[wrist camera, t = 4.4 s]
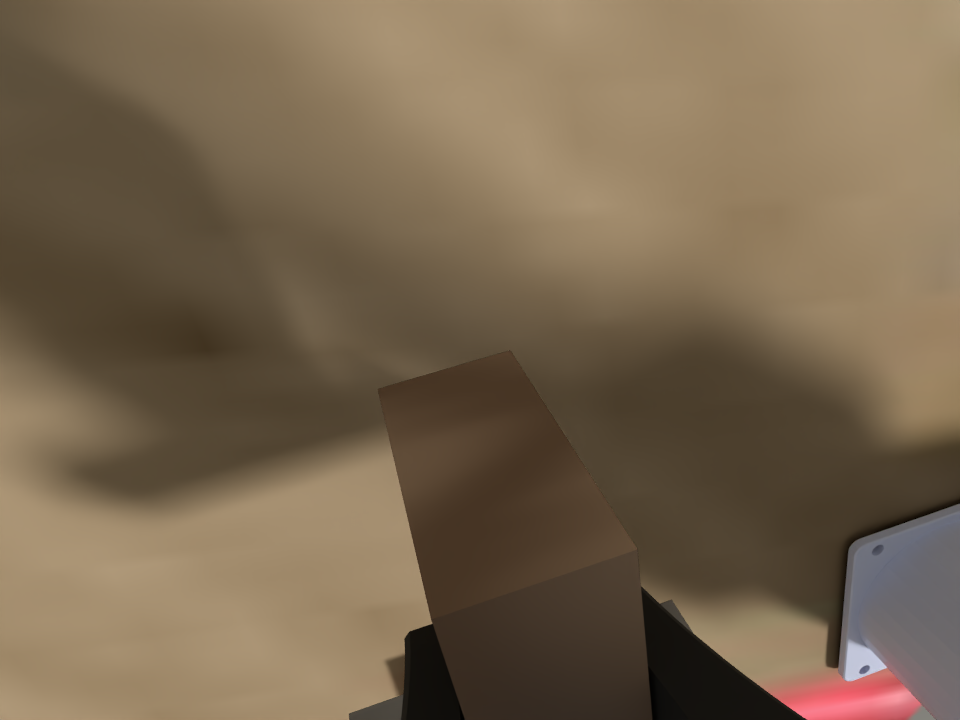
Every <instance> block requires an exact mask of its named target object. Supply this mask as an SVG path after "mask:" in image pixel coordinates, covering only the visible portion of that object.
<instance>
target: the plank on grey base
mask: <svg viewBox="0 0 960 720" xmlns="http://www.w3.org/2000/svg"><path fill="white" fill-rule="evenodd" d="M378 392H379V396H380V401H381V405H382V409H383V414H384V418H385V422H386V427H387V431H388V435H389V440H390V444H391V448H392V452H393V457H394V461H395V465H396V470H397V474H398V478H399V483H400V487H401V491H402V496H403V500H404V504H405V508H406V513H407V517H408V521H409V526H410V530H411V534H412V539H413V543H414V547H415V552H416V556H417V560H418V564H419V569H420V573H421V577H422V582H423V586H424V590H425V595H426V599H427V603H428V607H429V612H430V616H431V620H432V623H433V626H434V629H435V632H436V635H437V638H438V641H439V644H440V647H441V650H442V653H443V656H444V659H445V662H446V665H447V668H448V671H449V674H450V677H451V680H452V683H453V686H454V689H455V692H456V695H457V698H458V700H459V703H460V706H461V709H462V712H463V715H464V718H465V720H652V709H651V697H650V686H649V674H648V663H647V651H646V640H645V628H644V617H643V605H642V594H641V582H640V571H639V559H638V549H637V548H636V546H635V544H634V543H633V541H632V540H631V538H630V537H629V535H628V533H627V532H626V530H625V529H624V527H623V526H622V524H621V523H620V521H619V519H618V518H617V516H616V515H615V513H614V512H613V510H612V508H611V507H610V505H609V504H608V502H607V501H606V499H605V498H604V496H603V494H602V493H601V491H600V490H599V488H598V487H597V485H596V484H595V482H594V480H593V479H592V477H591V476H590V474H589V473H588V471H587V469H586V468H585V466H584V465H583V463H582V462H581V460H580V459H579V457H578V455H577V454H576V452H575V451H574V449H573V448H572V446H571V444H570V443H569V441H568V440H567V438H566V437H565V435H564V434H563V432H562V430H561V429H560V427H559V426H558V424H557V423H556V421H555V419H554V418H553V416H552V415H551V413H550V412H549V410H548V409H547V407H546V405H545V404H544V402H543V401H542V399H541V398H540V396H539V395H538V393H537V391H536V390H535V388H534V387H533V385H532V384H531V382H530V380H529V379H528V377H527V376H526V374H525V373H524V371H523V370H522V368H521V366H520V365H519V363H518V362H517V360H516V359H515V357H514V355H513V354H512V352H511V351H510V350H509V351H506V352H502V353H499V354H496V355H492V356H489V357H485V358H482V359H478V360H475V361H472V362H468V363H465V364H461V365H458V366H455V367H451V368H448V369H444V370H441V371H437V372H434V373H431V374H427V375H424V376H420V377H417V378H413V379H410V380H407V381H403V382H400V383H396V384H393V385H390V386H386V387H383V388H379V389H378ZM660 605H662V606H663V607H664V608H665V609H666V610H667V611H668V612H669V613H670V614H671V615H673V616H674V617H675V618H676V619H677V620H678V621H679V622H680V623H682V624H683V625H684V626H685V627H686V628H687V629H688V630H690V631H691V632H692V630H691V629H690V627H689V626H688V624H687V623H686V621H685V620H684V618H683V616H682V615H681V613H680V612H679V610H678V609H677V607H676V606H675V604H674V602H673V601H672V600H669V601H666V602H664V603H661V604H660ZM692 633H693V632H692ZM402 704H403V695H400V696H398V697H395V698H392V699H389V700H386V701H384V702H381V703H378V704H375V705H372V706H369V707H367V708H364V709H361V710H358V711H355V712H352V713H350V714H349V720H401V715H402Z"/></svg>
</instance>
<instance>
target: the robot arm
mask: <svg viewBox="0 0 960 720" xmlns="http://www.w3.org/2000/svg"><path fill="white" fill-rule="evenodd" d="M641 594H642V605H643V617H644V628H645V640H646V651H647V663H648V674H649V686H650V697H651V709H652V720H806V719H805V718H803V717H802V716H800V715H799V714H797V713H796V712H795V711H793V710H792V709H790V708H789V707H787V706H786V705H785V704H783V703H782V702H780V701H779V700H778V699H776V698H775V697H773V696H772V695H771V694H769V693H768V692H767V691H765V690H764V689H763V688H761V687H760V686H759V685H757V684H756V683H755V682H753V681H752V680H751V679H749V678H748V677H747V676H745V675H744V674H743V673H741V672H740V671H739V670H737V669H736V668H735V667H734V666H732V665H731V664H730V663H729V662H727V661H726V660H725V659H723V658H722V657H721V656H720V655H719V654H717V653H716V652H715V651H714V650H713V649H711V648H710V647H709V646H708V645H707V644H705V643H704V642H703V641H702V640H700V639H699V638H698V637H697V636H696V635H694V634H693V633H692V632H691V631H690V630H688V629H687V628H686V627H685V626H684V625H683V624H682V623H680V622H679V621H678V620H677V619H676V618H675V617H674V616H673V615H671V614H670V613H669V612H668V611H667V610H666V609H665V608H664V607H663V606H662V605H660V604H659V603H658V602H657V601H656V600H655V599H654V598H653V597H652V596H651V595H650V594H649V593H648V592H647V591H646V590H644V589H643V588H642V587H641ZM885 668H888V669H889V670H890V671H891V672H892V673H893V674H894V675H895V676H896V677H897V679H898V680H899V681H900V682H901V683H902V684H903V685H904V686H905V687H906V688H907V689H908V690H909V691H910V692H911V693H912V695H913V696H914V697H915V698H916V699H917V700H918V701H919V702H920V703H921V704H922V705H923V706H924V707H925V708H926V709H927V710H928V712H929V713H930V714H931V715H932V716H933V717H934V718H935V719H936V720H960V504H957V505H954V506H951V507H948V508H946V509H943V510H940V511H937V512H934V513H931V514H928V515H926V516H923V517H920V518H917V519H914V520H911V521H909V522H906V523H903V524H900V525H897V526H894V527H891V528H889V529H886V530H883V531H880V532H877V533H874V534H871V535H869V536H866V537H863V538H860V539H858V540H856V541H855V542H854V543H852V545H851V546H850V547H849V551H848V561H847V573H846V585H845V596H844V608H843V620H842V632H841V644H840V656H839V668H838V672H839V674H840V675H841V677H842V678H843V679H844V680H845V681H853V680H856V679H859V678H861V677H864V676H866V675H869V674H872V673H874V672H877V671H880V670H882V669H885ZM401 720H465V718H464V715H463V712H462V709H461V706H460V703H459V700H458V698H457V695H456V692H455V689H454V686H453V683H452V680H451V677H450V674H449V671H448V668H447V665H446V662H445V659H444V656H443V653H442V650H441V647H440V644H439V641H438V638H437V635H436V632H435V629H434V626H433V624H431V625H428V626H425V627H422V628H419V629H416V630H413V631H410V632H409V633H408V634H407V636H406V637H405V679H404V693H403V704H402V715H401Z"/></svg>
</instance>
